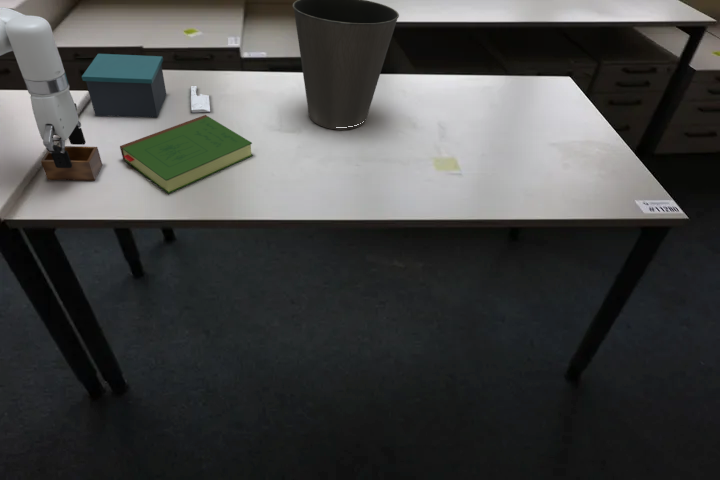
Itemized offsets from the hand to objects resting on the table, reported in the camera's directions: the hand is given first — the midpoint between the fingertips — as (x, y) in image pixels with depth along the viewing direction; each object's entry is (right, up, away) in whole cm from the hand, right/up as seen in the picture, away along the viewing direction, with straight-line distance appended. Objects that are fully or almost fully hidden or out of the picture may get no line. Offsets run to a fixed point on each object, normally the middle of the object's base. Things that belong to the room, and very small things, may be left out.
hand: (71, 155), depth 115 cm
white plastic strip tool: (+18, +22, +34) cm, 45 cm away
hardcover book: (+22, +1, +12) cm, 25 cm away
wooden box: (-1, -3, +3) cm, 5 cm away
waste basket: (+59, +17, +35) cm, 70 cm away
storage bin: (+1, +19, +29) cm, 35 cm away
